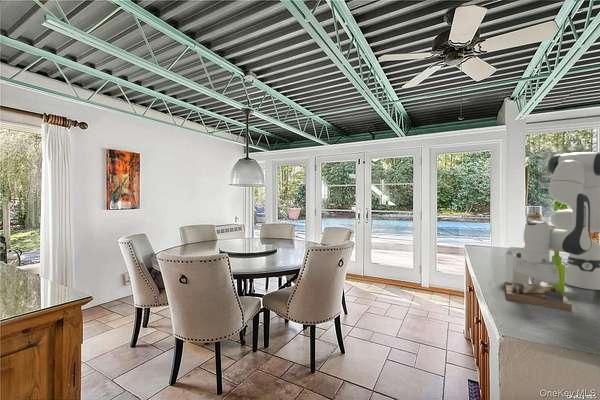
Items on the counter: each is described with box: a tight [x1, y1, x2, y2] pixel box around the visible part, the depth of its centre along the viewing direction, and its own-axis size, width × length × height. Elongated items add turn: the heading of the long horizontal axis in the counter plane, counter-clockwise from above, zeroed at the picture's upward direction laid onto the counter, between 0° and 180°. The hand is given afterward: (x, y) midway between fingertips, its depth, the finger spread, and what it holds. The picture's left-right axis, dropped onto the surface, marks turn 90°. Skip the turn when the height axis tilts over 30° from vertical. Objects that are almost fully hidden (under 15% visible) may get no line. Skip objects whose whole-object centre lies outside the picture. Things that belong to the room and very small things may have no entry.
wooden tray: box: [504, 282, 573, 312], centre depth 121 cm, size 22×20×6 cm
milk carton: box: [504, 246, 530, 284], centre depth 140 cm, size 7×7×19 cm
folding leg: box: [512, 283, 556, 293], centre depth 119 cm, size 17×4×3 cm, turn 91°
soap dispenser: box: [547, 250, 566, 295], centre depth 130 cm, size 6×7×20 cm
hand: (535, 288), depth 122 cm, fingers closed
